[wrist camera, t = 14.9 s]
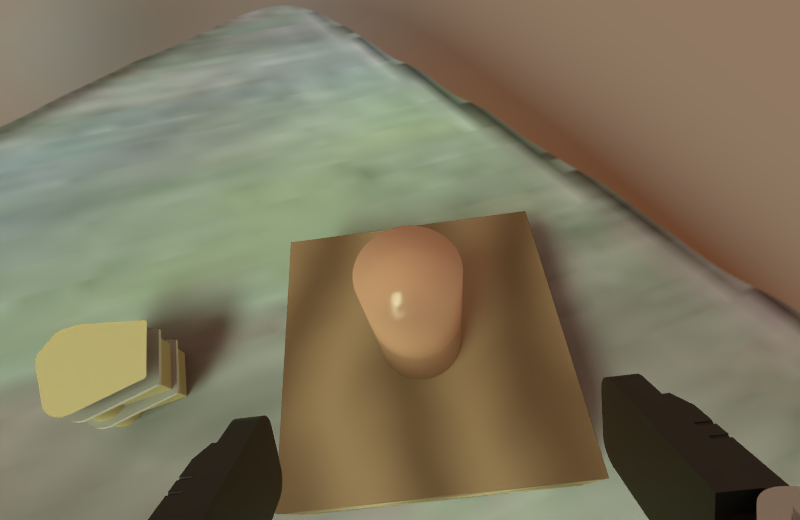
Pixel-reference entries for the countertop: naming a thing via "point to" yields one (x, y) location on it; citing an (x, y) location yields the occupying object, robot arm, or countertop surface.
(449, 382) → the plinth
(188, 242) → the countertop surface
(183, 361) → the stacked layers on plate
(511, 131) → the countertop surface
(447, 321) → the peach domed capsule
